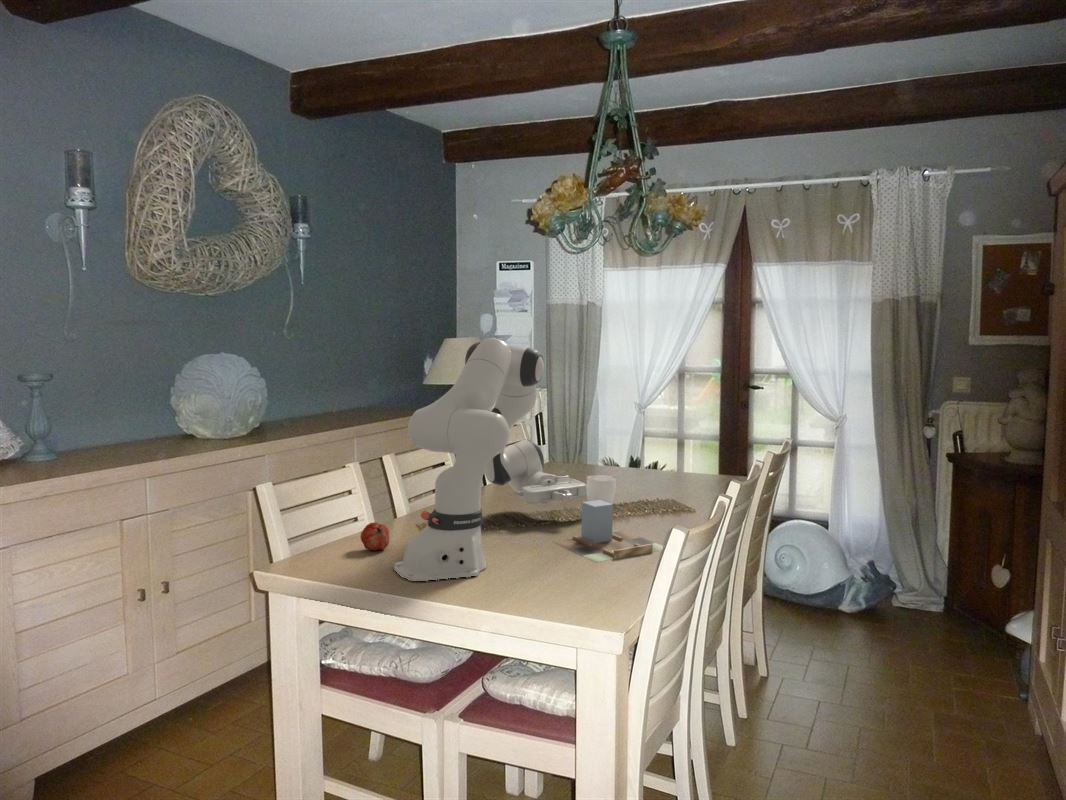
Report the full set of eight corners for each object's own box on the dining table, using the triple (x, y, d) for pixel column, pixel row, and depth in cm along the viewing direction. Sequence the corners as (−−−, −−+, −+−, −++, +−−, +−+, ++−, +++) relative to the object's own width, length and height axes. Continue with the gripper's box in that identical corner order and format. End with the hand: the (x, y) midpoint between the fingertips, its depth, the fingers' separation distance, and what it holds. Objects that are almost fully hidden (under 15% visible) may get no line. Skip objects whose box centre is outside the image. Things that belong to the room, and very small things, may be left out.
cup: (591, 520, 238) (592, 481, 237) (581, 513, 247) (582, 475, 246) (619, 518, 241) (620, 480, 239) (608, 511, 249) (609, 474, 248)
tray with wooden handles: (595, 566, 194) (595, 554, 194) (552, 545, 211) (552, 534, 211) (670, 552, 206) (670, 541, 206) (623, 533, 224) (624, 523, 223)
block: (593, 543, 210) (594, 506, 209) (581, 537, 215) (582, 502, 214) (611, 540, 213) (612, 504, 212) (599, 535, 218) (599, 499, 217)
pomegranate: (357, 557, 206) (363, 542, 198) (357, 530, 210) (363, 515, 202) (385, 557, 209) (392, 543, 201) (385, 531, 212) (392, 516, 205)
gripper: (513, 481, 232) (537, 491, 221) (571, 474, 243) (597, 483, 231) (513, 502, 233) (537, 512, 221) (570, 494, 244) (596, 504, 232)
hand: (568, 497), depth 226 cm, fingers closed
